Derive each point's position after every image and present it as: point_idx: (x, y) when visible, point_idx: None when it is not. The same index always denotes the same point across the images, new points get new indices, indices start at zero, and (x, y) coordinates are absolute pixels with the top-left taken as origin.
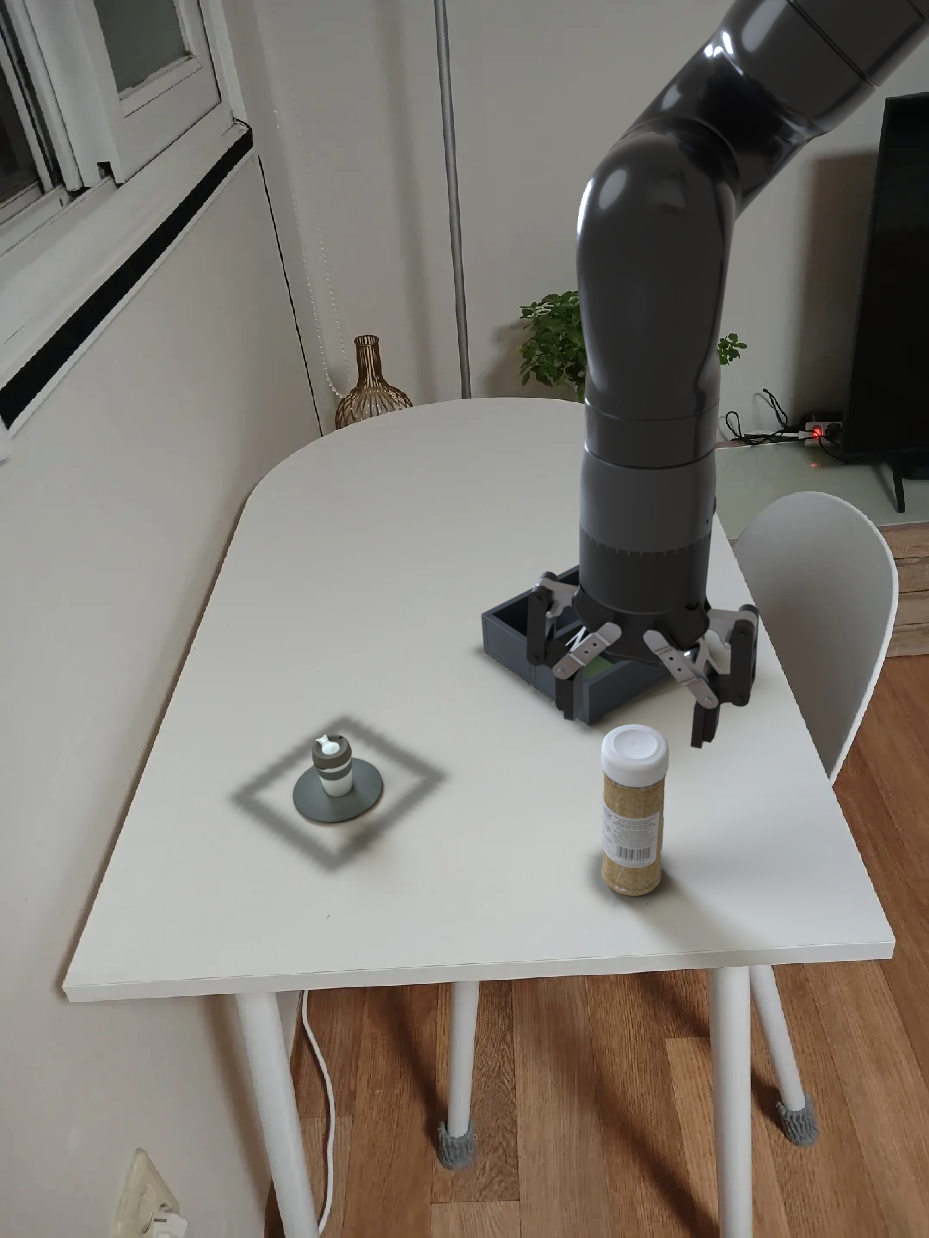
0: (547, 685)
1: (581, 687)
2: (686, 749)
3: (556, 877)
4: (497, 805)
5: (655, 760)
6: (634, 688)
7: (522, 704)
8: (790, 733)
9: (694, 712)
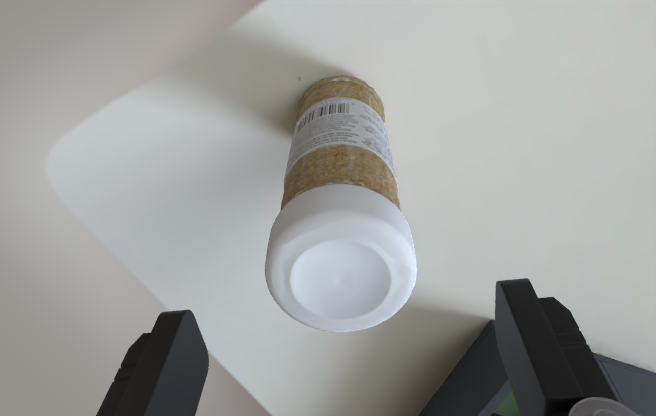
0: None
1: (512, 381)
2: None
3: (442, 61)
4: (578, 146)
5: (277, 256)
6: (451, 388)
7: (597, 320)
8: (252, 385)
9: (145, 405)
